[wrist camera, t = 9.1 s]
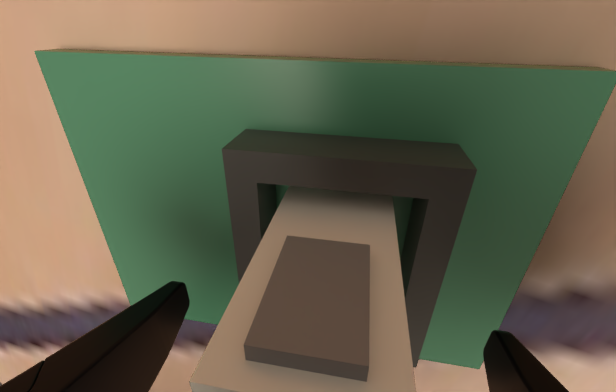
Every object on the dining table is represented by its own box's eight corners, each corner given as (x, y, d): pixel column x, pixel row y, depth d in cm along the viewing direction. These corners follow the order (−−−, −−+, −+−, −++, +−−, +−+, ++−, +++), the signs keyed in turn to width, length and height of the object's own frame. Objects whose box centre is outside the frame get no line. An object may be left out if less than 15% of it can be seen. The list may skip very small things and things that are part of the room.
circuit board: (473, 349, 15) (493, 415, 13) (144, 296, 18) (105, 341, 15) (597, 67, 9) (689, 84, 6) (59, 48, 12) (-31, 56, 9)
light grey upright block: (375, 289, 13) (378, 543, 7) (295, 279, 14) (227, 504, 7) (392, 175, 11) (426, 411, 4) (293, 167, 11) (184, 366, 5)
